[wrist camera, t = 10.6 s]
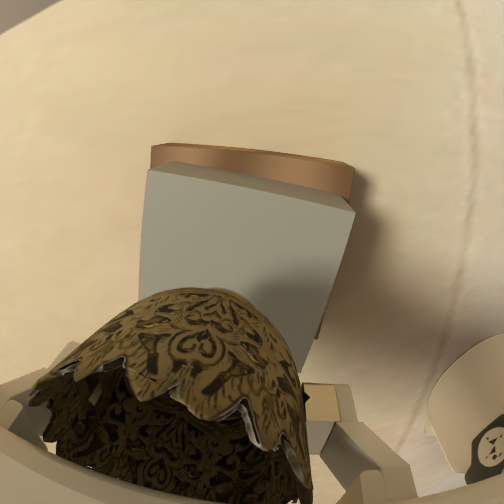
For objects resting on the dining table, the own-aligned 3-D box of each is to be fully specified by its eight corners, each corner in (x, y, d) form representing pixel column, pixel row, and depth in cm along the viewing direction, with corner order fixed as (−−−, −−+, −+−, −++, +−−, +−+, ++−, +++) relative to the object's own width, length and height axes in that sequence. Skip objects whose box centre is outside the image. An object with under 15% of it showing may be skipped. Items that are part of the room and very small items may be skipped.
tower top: (340, 195, 18) (356, 213, 14) (297, 334, 22) (300, 372, 18) (173, 160, 18) (147, 169, 14) (158, 304, 22) (138, 337, 18)
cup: (161, 205, 12) (0, 314, 4) (344, 276, 12) (384, 467, 4) (132, 345, 15) (48, 470, 7) (271, 400, 15) (247, 549, 7)
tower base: (341, 161, 21) (354, 168, 17) (312, 310, 26) (317, 339, 22) (171, 142, 21) (151, 146, 18) (168, 290, 26) (152, 316, 22)
